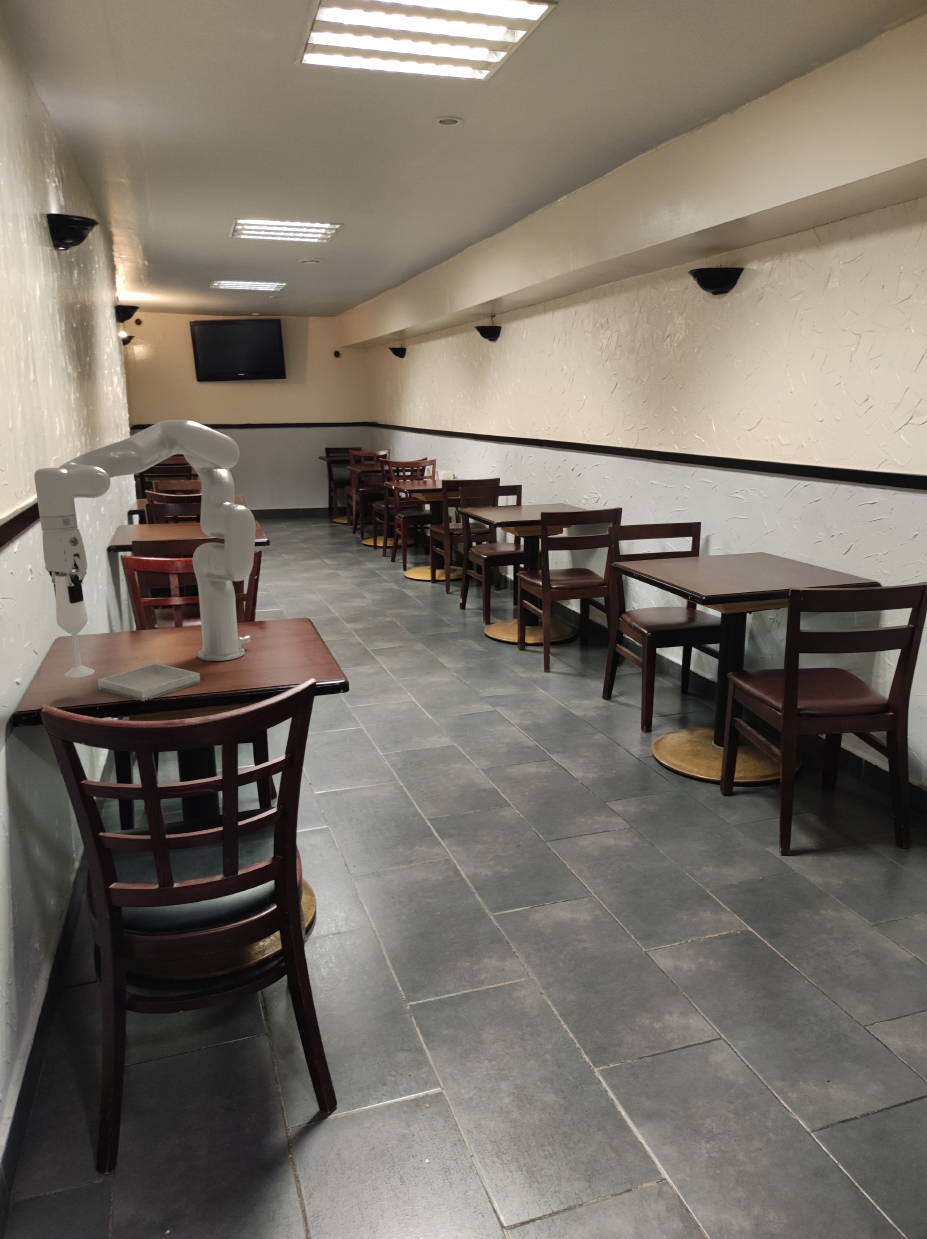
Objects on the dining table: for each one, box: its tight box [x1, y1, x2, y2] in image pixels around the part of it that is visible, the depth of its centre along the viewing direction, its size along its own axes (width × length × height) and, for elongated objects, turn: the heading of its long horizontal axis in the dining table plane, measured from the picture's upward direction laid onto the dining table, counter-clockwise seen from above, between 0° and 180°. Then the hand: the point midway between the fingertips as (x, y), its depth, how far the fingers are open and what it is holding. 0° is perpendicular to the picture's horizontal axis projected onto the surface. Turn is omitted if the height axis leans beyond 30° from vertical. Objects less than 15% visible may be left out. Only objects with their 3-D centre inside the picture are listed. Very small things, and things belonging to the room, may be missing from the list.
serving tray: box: [97, 662, 201, 702], centre depth 211 cm, size 17×17×2 cm
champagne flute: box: [54, 573, 96, 678], centre depth 199 cm, size 7×7×24 cm
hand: (69, 599), depth 198 cm, fingers closed on champagne flute, 4 cm apart
